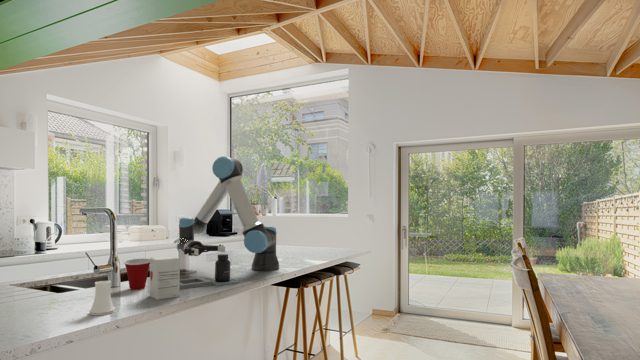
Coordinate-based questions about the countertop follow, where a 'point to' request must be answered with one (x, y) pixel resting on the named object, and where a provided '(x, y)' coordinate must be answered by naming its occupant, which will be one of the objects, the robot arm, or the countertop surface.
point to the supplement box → (164, 277)
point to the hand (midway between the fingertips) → (211, 250)
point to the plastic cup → (137, 272)
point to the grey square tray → (199, 283)
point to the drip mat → (224, 282)
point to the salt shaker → (102, 299)
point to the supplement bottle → (222, 268)
